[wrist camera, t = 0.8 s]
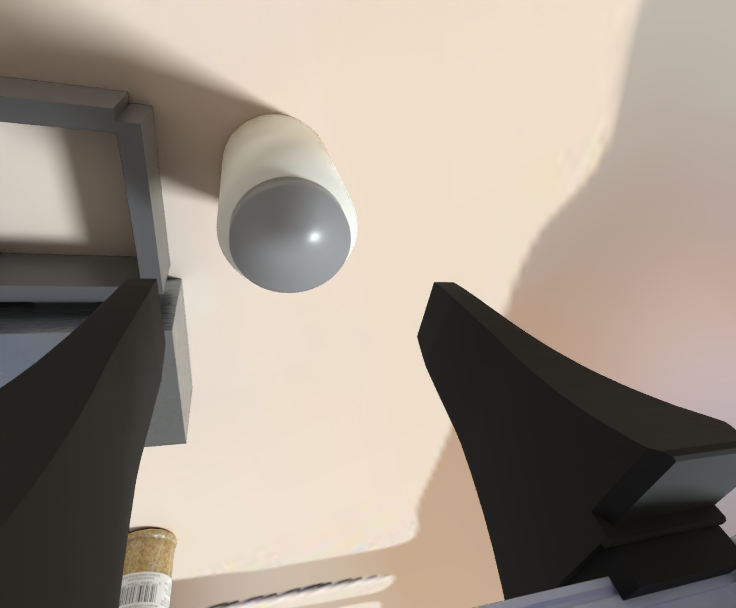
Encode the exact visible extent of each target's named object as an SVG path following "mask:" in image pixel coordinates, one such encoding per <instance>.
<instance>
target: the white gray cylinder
mask: <svg viewBox="0 0 736 608" xmlns="http://www.w3.org/2000/svg"><path fill="white" fill-rule="evenodd" d="M217 236H218V241H219V245H220V247H221V250H222V252H223V254H224V256H225V257H226V259H227V261H228V262H229V263H230V264H231V265H232V267H233V268H234V269H235V270H237V271H238V272H239V273H240V274H241V275H243V276H244V277H245V278H247V279H249V280H250V281H251V282H253V283H254V284H256V285H258V286H260V287H262V288H265V289H267V290H271V291H275V292H281V293H296V292H303V291H307V290H310V289H313V288H316V287H318V286H320V285H322V284H324V283H325V282H327V281H328V280H329V279H331V278H332V277H333V276H334V275H335V274H336V273H337V272H338V271H339V270H340V268H341V267H342V266H343V264H344V262H345V261H346V260H347V258H348V257H349V255H350V253H351V251H352V249H353V247H354V244H355V240H356V236H357V216H356V211H355V209H354V206H353V203H352V201H351V199H350V197H349V195H348V193H347V191H346V189H345V186H344V184H343V182H342V180H341V178H340V176H339V174H338V172H337V170H336V168H335V166H334V164H333V162H332V159H331V157H330V155H329V153H328V151H327V149H326V147H325V145H324V143H323V141H322V140H321V138H320V137H319V136H318V134H317V133H316V132H315V131H314V130H313V129H312V128H310V127H309V126H308V125H307V124H305V123H304V122H302V121H300V120H298V119H296V118H293V117H290V116H286V115H281V114H268V115H262V116H258V117H255V118H253V119H250V120H249V121H247V122H245V123H244V124H242V125H241V126H240V127H238V128H237V129H236V131H235V132H234V133H233V134H232V135H231V137H230V138H229V140H228V142H227V144H226V147H225V150H224V153H223V159H222V170H221V182H220V193H219V204H218V216H217Z"/></svg>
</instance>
